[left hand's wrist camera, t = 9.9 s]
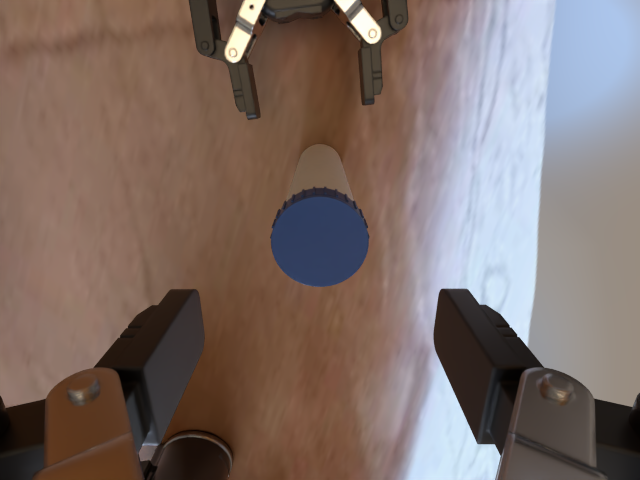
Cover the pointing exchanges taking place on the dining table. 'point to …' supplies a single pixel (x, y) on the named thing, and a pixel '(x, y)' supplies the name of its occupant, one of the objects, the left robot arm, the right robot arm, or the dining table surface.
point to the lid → (319, 237)
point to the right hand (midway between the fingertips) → (311, 111)
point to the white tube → (319, 171)
